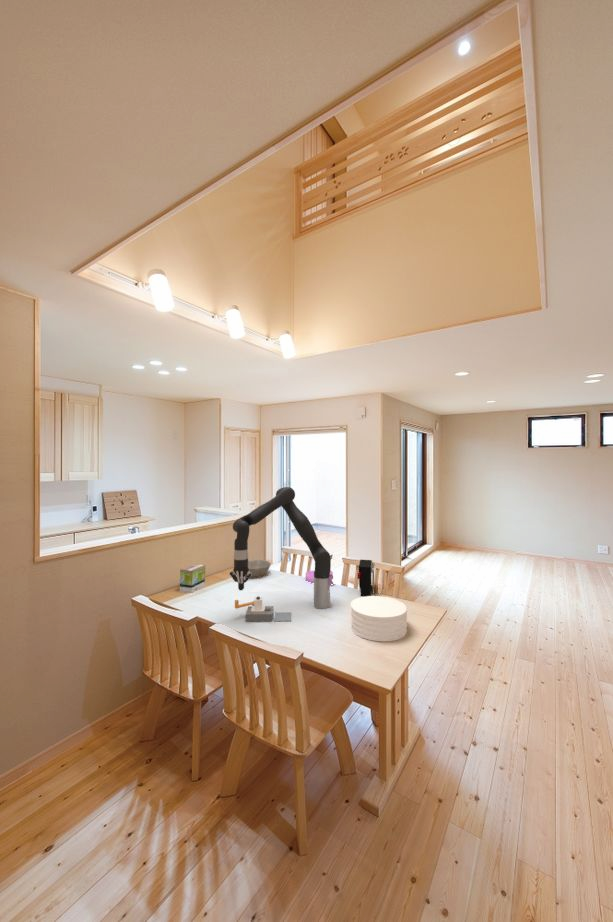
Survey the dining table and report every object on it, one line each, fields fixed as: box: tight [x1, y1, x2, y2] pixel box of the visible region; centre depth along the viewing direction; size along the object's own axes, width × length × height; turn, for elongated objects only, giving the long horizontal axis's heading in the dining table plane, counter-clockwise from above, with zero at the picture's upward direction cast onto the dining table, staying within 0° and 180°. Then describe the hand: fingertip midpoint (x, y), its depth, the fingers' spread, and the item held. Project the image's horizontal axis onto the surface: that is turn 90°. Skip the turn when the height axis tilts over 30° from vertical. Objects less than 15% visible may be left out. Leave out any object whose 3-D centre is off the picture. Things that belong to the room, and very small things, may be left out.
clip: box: [234, 599, 254, 609], centre depth 202 cm, size 2×12×5 cm, turn 126°
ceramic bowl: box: [246, 559, 272, 579], centre depth 271 cm, size 22×23×10 cm
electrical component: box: [357, 559, 376, 597], centre depth 236 cm, size 18×10×20 cm, turn 168°
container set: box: [305, 570, 334, 587], centre depth 256 cm, size 25×15×13 cm, turn 33°
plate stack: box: [350, 595, 408, 643], centre depth 188 cm, size 28×28×12 cm
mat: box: [273, 611, 292, 623], centre depth 200 cm, size 9×11×1 cm
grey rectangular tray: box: [245, 605, 275, 623], centre depth 200 cm, size 14×11×4 cm
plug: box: [251, 595, 266, 613], centre depth 200 cm, size 7×7×11 cm
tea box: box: [179, 563, 206, 594], centre depth 246 cm, size 15×10×15 cm, turn 162°
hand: (241, 589), depth 198 cm, fingers closed
